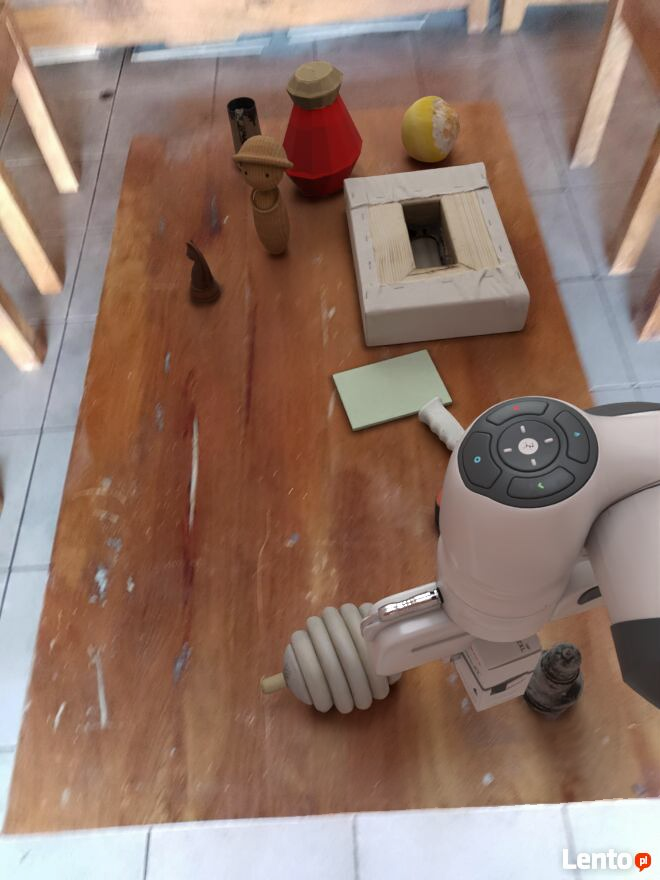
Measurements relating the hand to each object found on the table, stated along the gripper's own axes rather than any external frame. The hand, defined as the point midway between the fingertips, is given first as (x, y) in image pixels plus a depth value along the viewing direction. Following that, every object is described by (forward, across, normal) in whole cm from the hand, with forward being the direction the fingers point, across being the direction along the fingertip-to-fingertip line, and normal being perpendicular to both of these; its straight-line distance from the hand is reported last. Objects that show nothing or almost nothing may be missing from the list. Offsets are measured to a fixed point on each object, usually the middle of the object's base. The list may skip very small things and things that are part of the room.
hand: (483, 641), depth 62 cm
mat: (+16, +6, +41) cm, 45 cm away
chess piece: (+16, -15, +70) cm, 73 cm away
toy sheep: (+16, -12, +6) cm, 21 cm away
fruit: (+16, +30, +90) cm, 96 cm away
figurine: (+16, -2, +76) cm, 77 cm away
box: (+16, +19, +63) cm, 68 cm away
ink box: (+5, 0, 0) cm, 5 cm away
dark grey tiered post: (+16, +8, -2) cm, 18 cm away
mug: (+16, -1, +100) cm, 102 cm away
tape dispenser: (+16, +10, +24) cm, 31 cm away
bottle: (+16, +10, +90) cm, 92 cm away
